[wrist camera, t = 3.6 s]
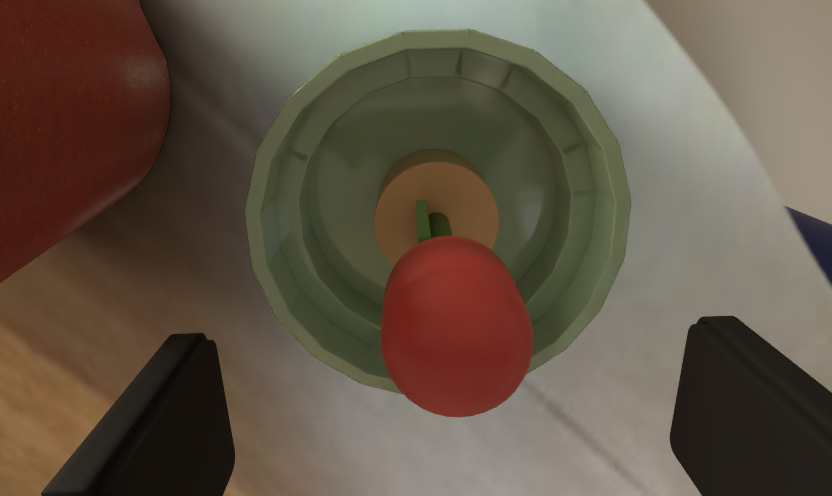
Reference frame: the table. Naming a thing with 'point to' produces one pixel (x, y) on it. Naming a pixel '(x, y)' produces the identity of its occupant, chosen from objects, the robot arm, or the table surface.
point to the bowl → (447, 130)
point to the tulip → (448, 289)
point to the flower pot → (73, 116)
